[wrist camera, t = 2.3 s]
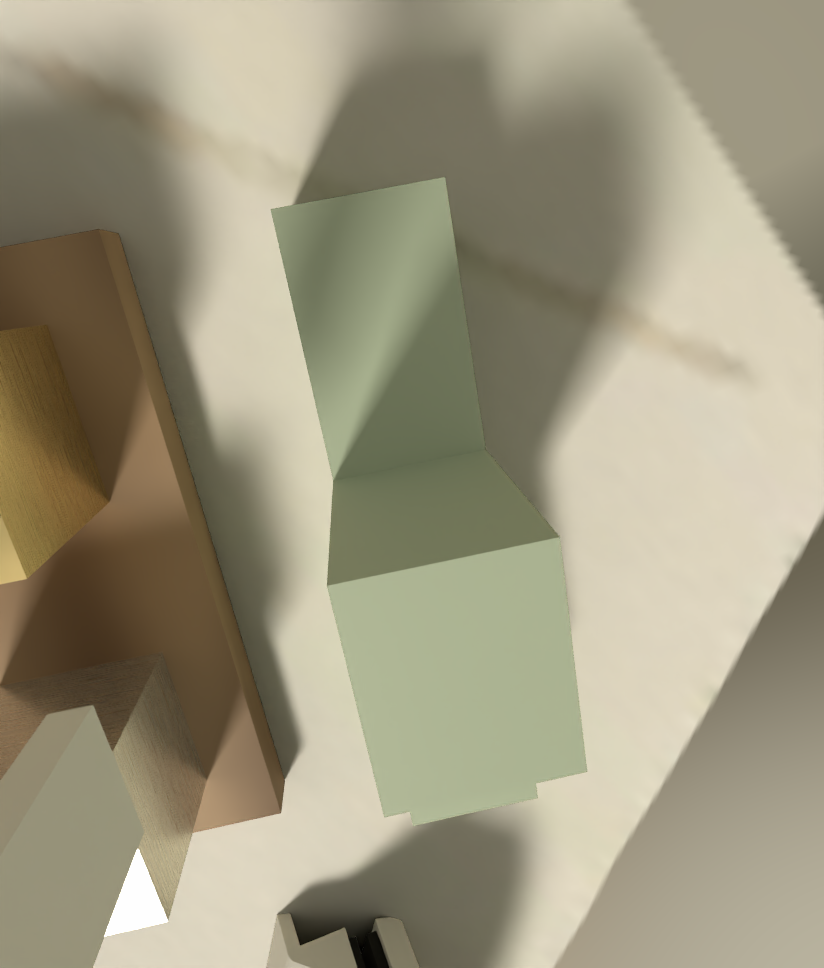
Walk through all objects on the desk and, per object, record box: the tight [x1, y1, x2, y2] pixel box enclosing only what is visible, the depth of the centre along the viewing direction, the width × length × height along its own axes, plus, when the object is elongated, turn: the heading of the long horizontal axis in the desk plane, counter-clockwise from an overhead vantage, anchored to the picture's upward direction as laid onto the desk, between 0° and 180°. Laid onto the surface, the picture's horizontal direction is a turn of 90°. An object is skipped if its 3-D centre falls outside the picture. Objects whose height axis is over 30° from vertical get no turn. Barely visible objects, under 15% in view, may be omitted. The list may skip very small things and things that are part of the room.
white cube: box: [0, 652, 207, 936], centre depth 18 cm, size 5×5×5 cm
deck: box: [0, 229, 285, 833], centre depth 20 cm, size 9×19×2 cm, turn 10°
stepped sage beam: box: [271, 177, 587, 826], centre depth 16 cm, size 4×18×10 cm, turn 10°
